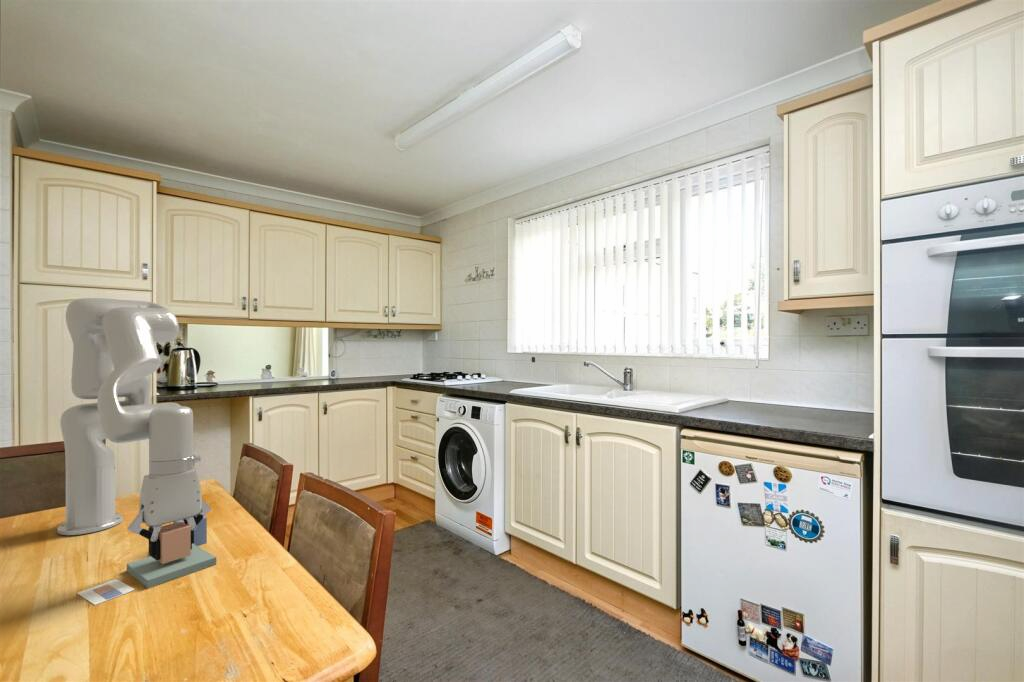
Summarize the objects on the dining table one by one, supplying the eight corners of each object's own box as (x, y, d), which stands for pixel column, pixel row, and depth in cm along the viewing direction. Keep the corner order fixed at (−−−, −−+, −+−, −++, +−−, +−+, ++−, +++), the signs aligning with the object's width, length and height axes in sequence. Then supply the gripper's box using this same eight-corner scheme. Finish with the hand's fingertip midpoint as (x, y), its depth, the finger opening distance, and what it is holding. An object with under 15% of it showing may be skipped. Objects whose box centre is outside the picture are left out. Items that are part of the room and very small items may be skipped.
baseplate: (126, 570, 97) (126, 563, 97) (192, 549, 107) (192, 543, 107) (147, 588, 90) (147, 580, 90) (216, 564, 100) (216, 557, 100)
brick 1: (153, 557, 98) (153, 528, 98) (180, 548, 102) (180, 521, 102) (162, 564, 95) (162, 534, 95) (190, 554, 99) (190, 526, 99)
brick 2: (173, 545, 110) (173, 519, 110) (197, 538, 114) (197, 513, 114) (182, 551, 107) (182, 524, 107) (206, 543, 111) (206, 517, 111)
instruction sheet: (77, 593, 89) (77, 592, 89) (116, 579, 94) (116, 578, 94) (94, 605, 85) (94, 604, 85) (134, 590, 90) (134, 589, 90)
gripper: (208, 455, 108) (208, 535, 108) (114, 472, 94) (114, 564, 94) (223, 460, 104) (223, 543, 103) (127, 478, 90) (127, 574, 90)
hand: (171, 552), depth 99 cm, fingers closed on brick 1, 4 cm apart
